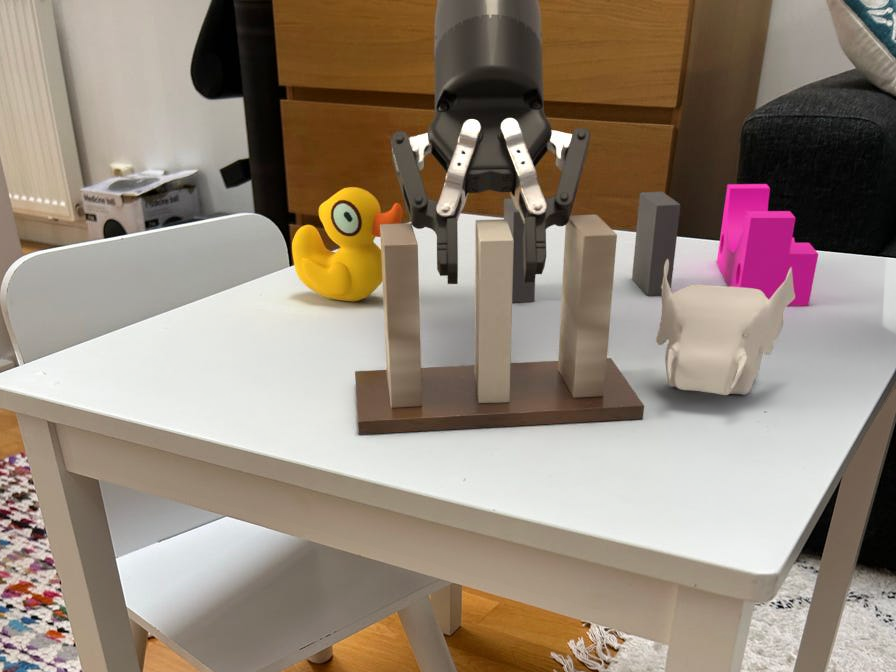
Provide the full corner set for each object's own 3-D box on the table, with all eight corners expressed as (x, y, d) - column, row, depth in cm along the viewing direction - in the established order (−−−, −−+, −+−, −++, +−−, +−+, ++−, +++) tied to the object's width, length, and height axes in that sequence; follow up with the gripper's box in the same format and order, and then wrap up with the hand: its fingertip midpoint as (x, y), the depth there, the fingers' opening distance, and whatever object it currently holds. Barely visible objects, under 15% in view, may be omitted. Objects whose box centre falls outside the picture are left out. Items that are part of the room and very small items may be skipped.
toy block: (808, 305, 90) (825, 217, 86) (737, 305, 91) (751, 217, 86) (778, 262, 102) (792, 183, 98) (716, 262, 103) (727, 184, 99)
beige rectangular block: (503, 373, 75) (507, 218, 69) (509, 402, 70) (513, 239, 64) (474, 374, 75) (475, 219, 69) (478, 403, 70) (479, 240, 64)
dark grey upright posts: (653, 277, 99) (662, 191, 94) (670, 294, 94) (680, 204, 89) (502, 285, 98) (504, 198, 94) (511, 302, 93) (513, 212, 89)
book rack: (610, 370, 78) (623, 206, 71) (643, 419, 70) (662, 239, 63) (355, 383, 77) (344, 219, 70) (358, 434, 69) (346, 254, 62)
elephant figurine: (627, 411, 71) (639, 283, 66) (658, 357, 80) (672, 241, 75) (766, 427, 68) (790, 295, 63) (782, 369, 77) (805, 249, 72)
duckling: (416, 296, 96) (413, 184, 90) (393, 312, 92) (388, 196, 86) (312, 287, 100) (302, 179, 94) (286, 302, 96) (274, 190, 90)
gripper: (382, 13, 66) (381, 248, 63) (598, 7, 65) (608, 243, 62) (389, 94, 73) (388, 308, 70) (583, 89, 73) (591, 304, 70)
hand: (491, 276), depth 66 cm, fingers open, 4 cm apart
